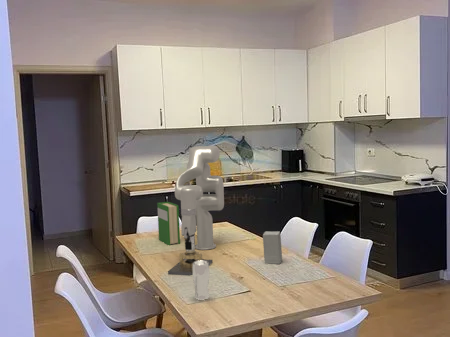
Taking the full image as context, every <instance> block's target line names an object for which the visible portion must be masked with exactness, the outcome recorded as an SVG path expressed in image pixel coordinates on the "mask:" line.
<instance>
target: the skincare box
mask: <svg viewBox="0 0 450 337" xmlns="http://www.w3.org/2000/svg"><path fill="white" fill-rule="evenodd" d="M262 243H263V244H262V245H263V256H264V257H263V259H264V264H266V263H268V264H269V265H272V264H273V265H280V264H281V263H282V261H283V251H282V237H281V231H264V232H263V234H262Z"/></svg>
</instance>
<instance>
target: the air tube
mask: <svg viewBox="0 0 450 337" xmlns="http://www.w3.org/2000/svg"><path fill="white" fill-rule="evenodd" d="M187 236H189V234H187ZM188 238H189V237H188ZM191 242H192V249H191V250H186V249H185V252H186V255H195V252H196V250H195V249H196V248H195V245H196V242H195V243H194V232H193V235H191ZM195 259H196V258H194V259H186V262H189V263H192V262H195Z"/></svg>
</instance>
